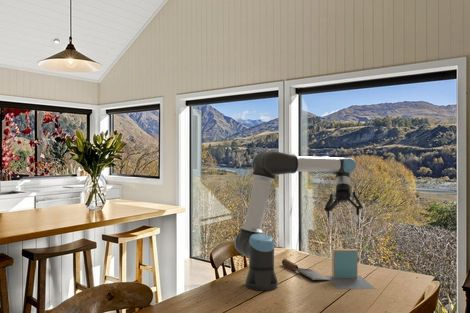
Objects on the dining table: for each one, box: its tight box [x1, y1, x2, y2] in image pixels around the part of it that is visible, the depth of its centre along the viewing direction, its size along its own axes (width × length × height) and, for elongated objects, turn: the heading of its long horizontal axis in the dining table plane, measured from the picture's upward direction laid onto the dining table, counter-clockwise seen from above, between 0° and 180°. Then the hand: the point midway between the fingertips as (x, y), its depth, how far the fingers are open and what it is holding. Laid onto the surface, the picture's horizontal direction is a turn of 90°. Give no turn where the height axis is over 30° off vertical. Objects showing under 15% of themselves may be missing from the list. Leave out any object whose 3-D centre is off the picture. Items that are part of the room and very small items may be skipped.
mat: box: [325, 275, 376, 290], centre depth 189 cm, size 18×20×1 cm
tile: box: [331, 248, 359, 278], centre depth 196 cm, size 12×3×14 cm, turn 92°
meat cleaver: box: [281, 258, 331, 281], centre depth 205 cm, size 34×11×4 cm, turn 20°
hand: (343, 222), depth 205 cm, fingers open, 13 cm apart
